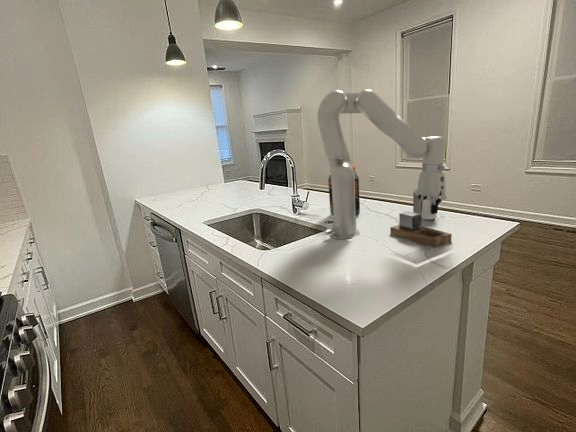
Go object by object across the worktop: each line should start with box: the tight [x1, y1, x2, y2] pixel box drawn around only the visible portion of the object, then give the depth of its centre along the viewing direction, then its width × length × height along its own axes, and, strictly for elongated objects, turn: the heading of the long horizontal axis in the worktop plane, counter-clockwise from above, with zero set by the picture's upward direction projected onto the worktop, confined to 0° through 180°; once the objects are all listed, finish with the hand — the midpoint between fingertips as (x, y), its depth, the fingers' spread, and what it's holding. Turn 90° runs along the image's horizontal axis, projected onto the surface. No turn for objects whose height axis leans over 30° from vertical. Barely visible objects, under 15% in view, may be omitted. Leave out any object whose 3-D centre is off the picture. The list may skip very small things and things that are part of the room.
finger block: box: [398, 210, 422, 231], centre depth 128 cm, size 4×7×9 cm, turn 29°
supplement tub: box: [327, 165, 361, 217], centre depth 167 cm, size 16×16×26 cm
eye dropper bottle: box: [422, 196, 438, 220], centre depth 130 cm, size 4×6×12 cm
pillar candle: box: [412, 189, 435, 222], centre depth 149 cm, size 10×10×15 cm
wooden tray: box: [390, 224, 453, 249], centre depth 125 cm, size 10×21×4 cm, turn 29°
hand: (429, 211), depth 131 cm, fingers closed on eye dropper bottle, 4 cm apart
